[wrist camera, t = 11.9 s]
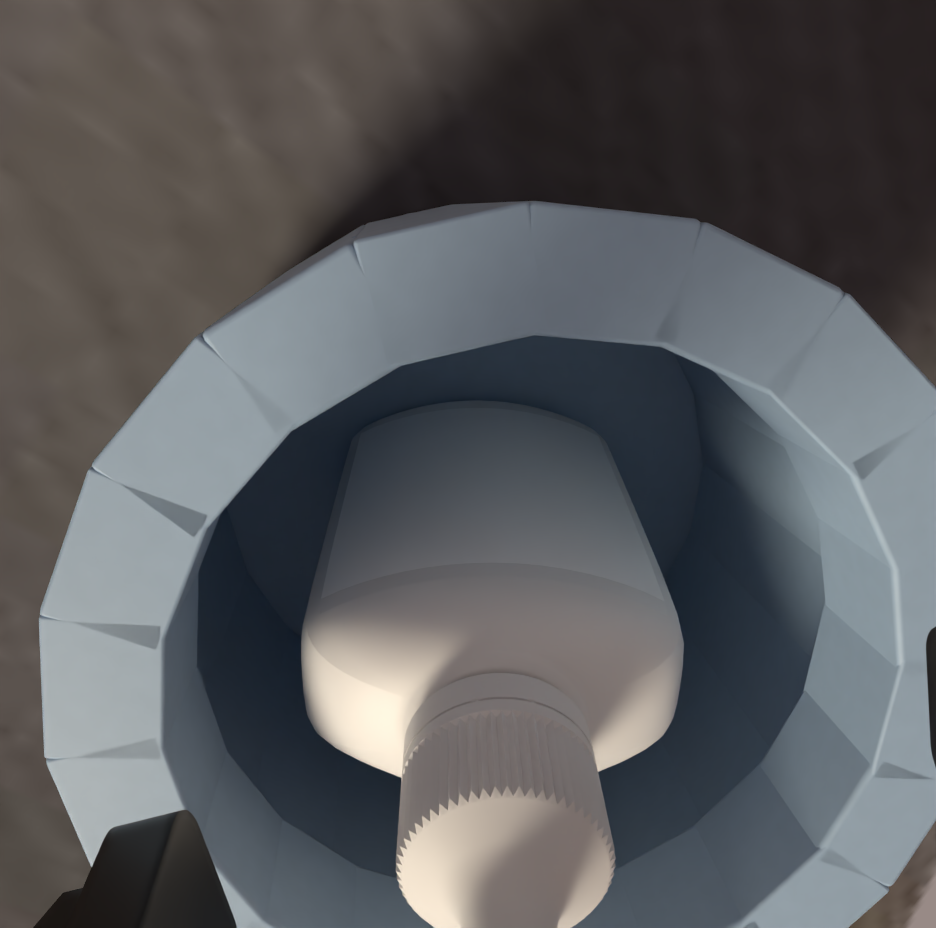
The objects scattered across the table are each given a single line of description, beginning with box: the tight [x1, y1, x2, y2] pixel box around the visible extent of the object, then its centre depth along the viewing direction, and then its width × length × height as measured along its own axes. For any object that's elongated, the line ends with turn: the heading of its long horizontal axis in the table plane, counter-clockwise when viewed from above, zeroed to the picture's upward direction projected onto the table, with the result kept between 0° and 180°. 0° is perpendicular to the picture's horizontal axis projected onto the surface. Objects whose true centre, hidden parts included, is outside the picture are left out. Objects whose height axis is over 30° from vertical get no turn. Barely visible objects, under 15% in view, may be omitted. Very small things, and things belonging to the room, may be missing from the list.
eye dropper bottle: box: [301, 400, 684, 928], centre depth 14 cm, size 4×6×12 cm
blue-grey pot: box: [39, 201, 936, 928], centre depth 15 cm, size 12×12×10 cm
